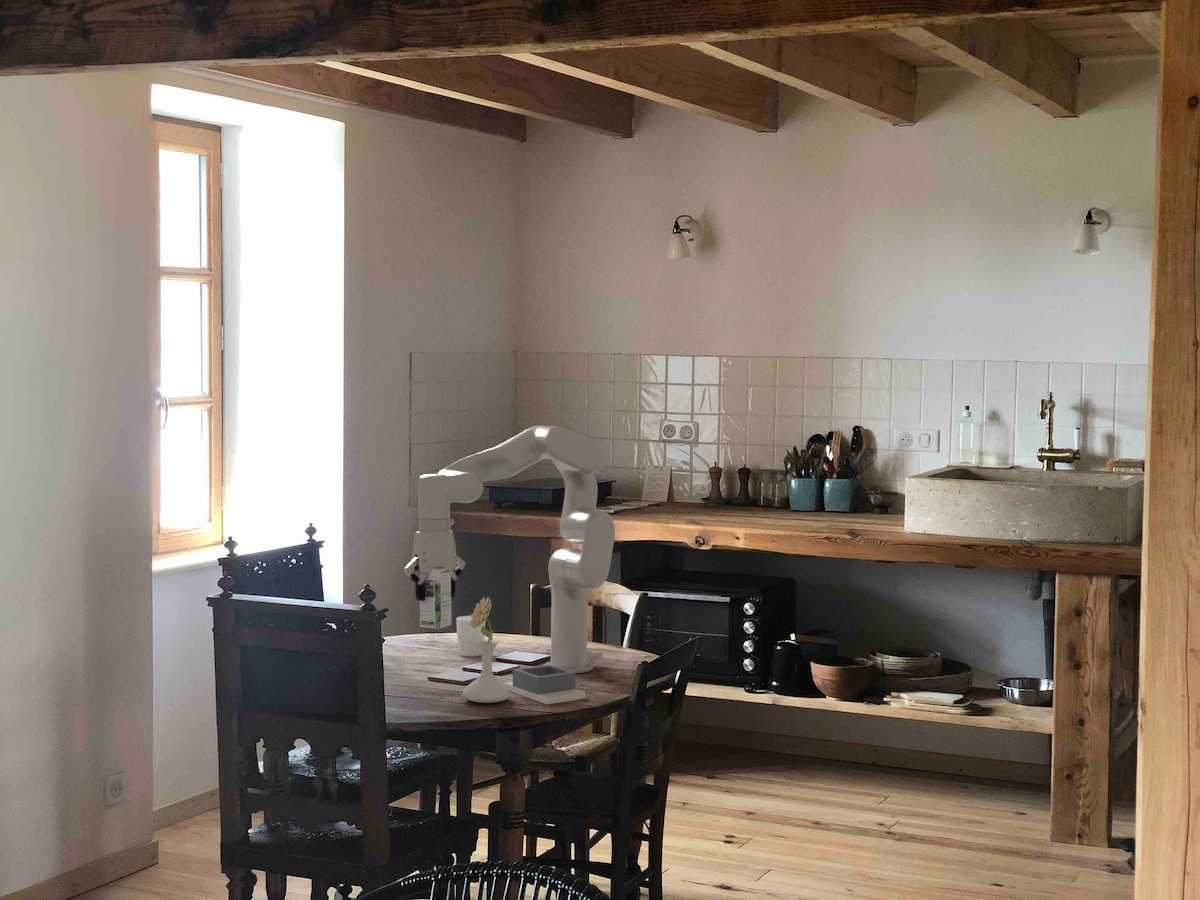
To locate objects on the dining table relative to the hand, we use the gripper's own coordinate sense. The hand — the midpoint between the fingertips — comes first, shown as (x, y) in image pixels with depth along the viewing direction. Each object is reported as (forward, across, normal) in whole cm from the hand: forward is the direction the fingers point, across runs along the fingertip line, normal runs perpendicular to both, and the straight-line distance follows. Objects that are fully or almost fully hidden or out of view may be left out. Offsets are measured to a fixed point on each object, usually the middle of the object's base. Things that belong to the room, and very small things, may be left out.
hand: (435, 597), depth 330 cm
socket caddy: (+23, -20, +17) cm, 35 cm away
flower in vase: (+23, -4, +17) cm, 29 cm away
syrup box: (+7, 0, 0) cm, 7 cm away
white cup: (+24, -29, -33) cm, 50 cm away
